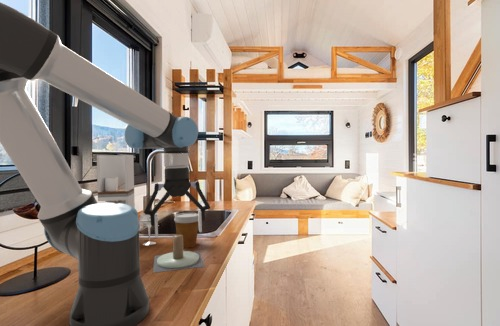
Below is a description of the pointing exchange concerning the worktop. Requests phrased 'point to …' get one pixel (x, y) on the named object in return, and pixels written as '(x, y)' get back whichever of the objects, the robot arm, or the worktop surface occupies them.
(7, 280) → the worktop surface
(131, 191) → the grey box-shaped tower
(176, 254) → the lid
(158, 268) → the mat
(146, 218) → the wineglass
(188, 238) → the disposable coffee cup
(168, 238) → the worktop surface
